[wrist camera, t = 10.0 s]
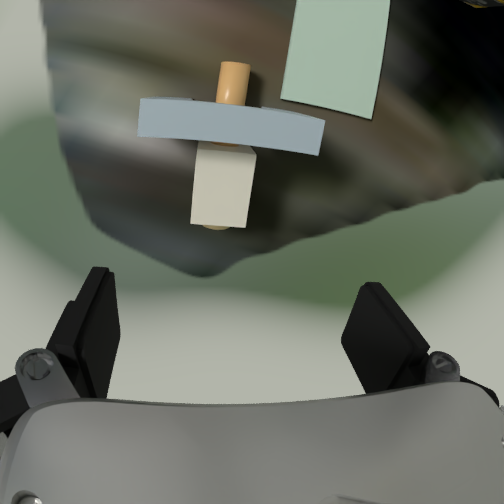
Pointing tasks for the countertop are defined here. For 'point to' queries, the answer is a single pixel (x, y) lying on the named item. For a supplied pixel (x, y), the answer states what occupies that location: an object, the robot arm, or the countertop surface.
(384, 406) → the robot arm
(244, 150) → the plug
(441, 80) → the countertop surface
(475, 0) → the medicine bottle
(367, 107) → the mat
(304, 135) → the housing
